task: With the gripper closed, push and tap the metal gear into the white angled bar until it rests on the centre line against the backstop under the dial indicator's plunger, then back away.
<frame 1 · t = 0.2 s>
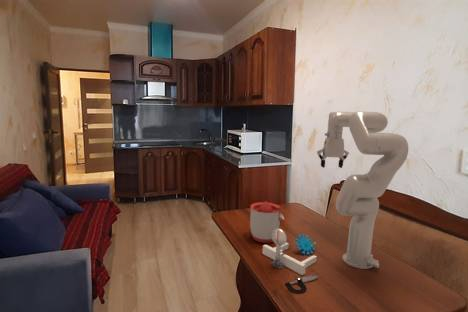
hand: (331, 167, 153), 37 cm above the table, tool pointing down, fingers open, 9 cm apart
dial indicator: (277, 265, 121), on the table
gear: (305, 252, 135), on the table
white angled bar: (290, 259, 127), on the table
micrometer: (305, 287, 108), on the table
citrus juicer: (265, 238, 147), on the table
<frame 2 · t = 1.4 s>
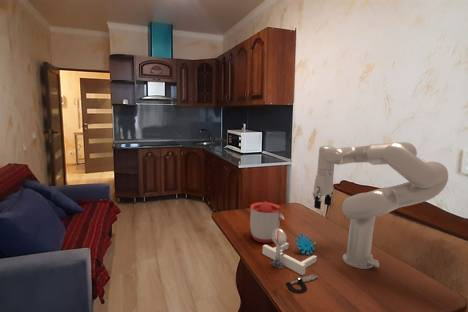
hand: (322, 206, 139), 20 cm above the table, tool pointing down, fingers open, 8 cm apart
nothing on the table moved.
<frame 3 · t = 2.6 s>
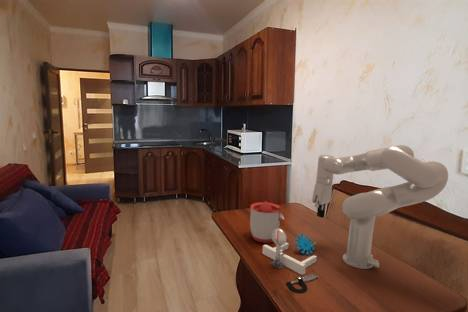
hand: (320, 216, 140), 15 cm above the table, tool pointing down, fingers closed
nothing on the table moved.
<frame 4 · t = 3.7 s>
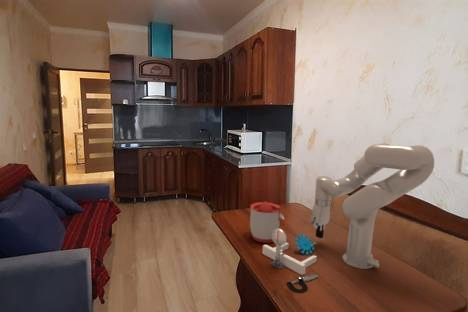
hand: (319, 237, 142), 4 cm above the table, tool pointing down, fingers closed
nothing on the table moved.
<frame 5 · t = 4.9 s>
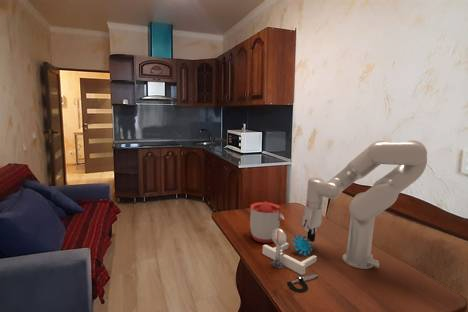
hand: (310, 240, 137), 4 cm above the table, tool pointing down, fingers closed
gear: (302, 252, 134), on the table, touching gripper
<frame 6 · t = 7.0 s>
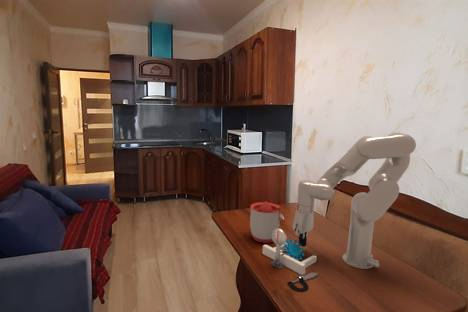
hand: (302, 245, 132), 4 cm above the table, tool pointing down, fingers closed
gear: (294, 258, 129), on the table, touching gripper
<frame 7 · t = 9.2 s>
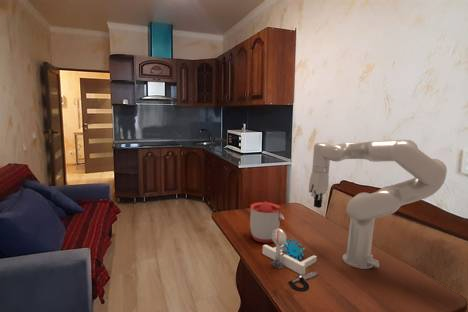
hand: (317, 206, 136), 21 cm above the table, tool pointing down, fingers closed
gear: (294, 258, 129), on the table
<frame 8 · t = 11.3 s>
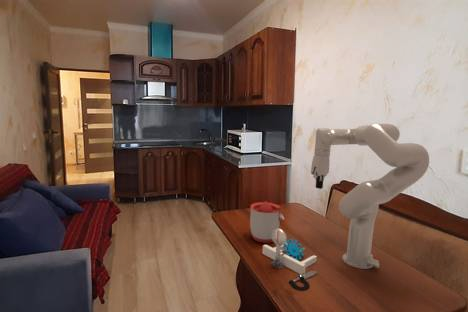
hand: (319, 188, 146), 27 cm above the table, tool pointing down, fingers closed
at the end: gear 0.7 cm from the target spot on the white angled bar, point 0.0 cm above the white angled bar's base; gear tilted 0° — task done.
